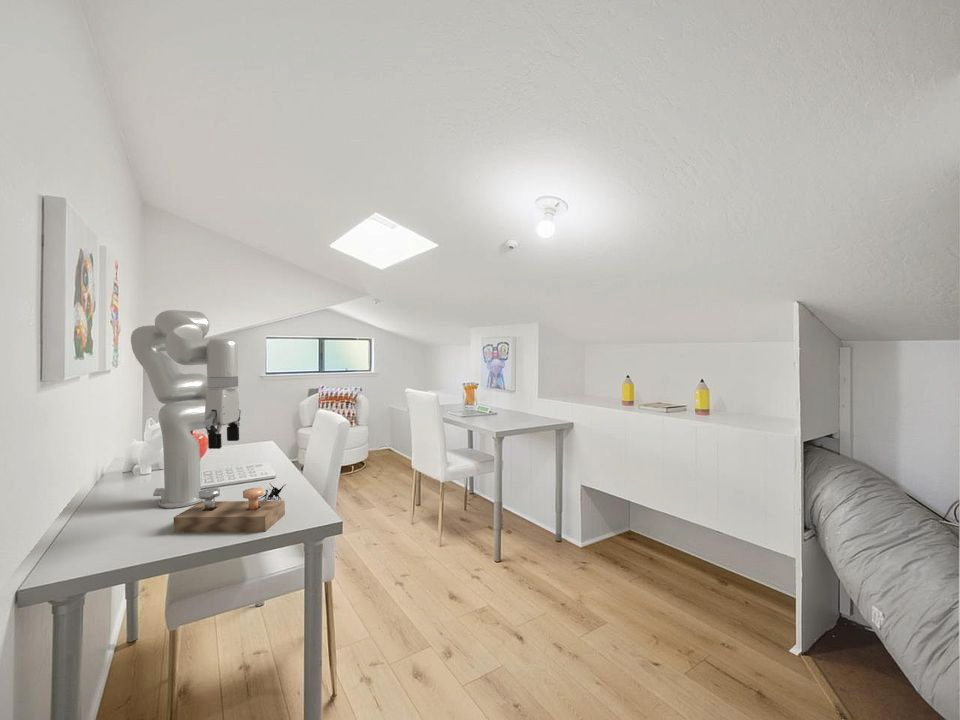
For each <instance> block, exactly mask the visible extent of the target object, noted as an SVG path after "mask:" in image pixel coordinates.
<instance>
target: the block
mask: <svg viewBox="0 0 960 720" xmlns="http://www.w3.org/2000/svg"><path fill="white" fill-rule="evenodd" d="M285 505H286V504H285V500H281V501H280V500H267V501H265V500H264V501H263V500H258V510H250V511H249V504H248V500H239V501H234V500H229V501H228V500H227V501H226V500H225V501H215V509H214V510H213V511H205V501H201V502H199V503H196V504H193V505H192V506H191V507H189V508H188V509H186V510H184V511H182V512H180V513H178V514H177V515H175V516H174V517H173V519H172V520H173V533H239V532H240V533H242V532H243V533H251V532H253V533H255V532H256V533H257V532H258V533H259V532H263V533H265V532H267V531H268V530H269V529H271V527H272V526H274V525H275V524H276V523H277V522H279V520H280V519H282V518H283V517H284V516H285V515H286V512H285V511H286V508H285V507H286V506H285Z"/></svg>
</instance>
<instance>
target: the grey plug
mask: <svg viewBox="0 0 960 720" xmlns="http://www.w3.org/2000/svg"><path fill="white" fill-rule="evenodd" d="M220 495H221V489H220V488H218V487H211V488H210V487H209V488H205V489H201V491H200V492H199V498H200V499H204V500H203V501H204V502H205V511H213V510H214V509H215V499H216V498H218V497H219V496H220Z"/></svg>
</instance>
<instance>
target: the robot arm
mask: <svg viewBox="0 0 960 720" xmlns="http://www.w3.org/2000/svg"><path fill="white" fill-rule="evenodd" d="M209 321H210V320H209V318H208V317H207V316H206V314H205V313H202V312H200V311H196V310H176V309H175V310H173V309H169V310H164V311H163V310H162V312H160V313H158V314H157V315H156V317H155V319H154V324H153V325H142V326H138V327H137V328H135V329H134V330H133V331H132V332H131V335H130V345H131V350H132V353H133V355H134V357H135V359H136V360H137V362H138V363H139V364H140V366H142V368H143V370H144V371H145V372H146V374H147V377H148V381H149V383H150V386H151V388H152V390H153V391H152V392H154V393H153V394H154V395H155V398H156V400H157V401H158V402H159V403H161V404H162V405H163V406H161V407H160V409H159V411H158V415H157V416H158V418H157V419H158V423H159V427H160V430H161V436H162V447H163V450H162V451H163V452H162V453H163V479H164V487H160V488H159V487H157V488H155V489H154V492H153V493H152V494H153V495H152V496H153V497H161V498H160V499H159V501H158V506H159V507H160V508H163V509H164V508H166V509H170V508H171V509H174V508H183V507H188V506H194V505H196V504H198V503H200V502H204V501H205V500H204V499H200V498H199V492H200V491H201V490H202V489H201V485H202V483H201V452H200V451H201V450H200V443H199V441H198V439H197V438H196V437H195V436H194V435H193V434H192V433H191V432H192V431H196V430H203V429H205V430H206V434H207V440H208V441H207V444H208V446H207V447H208V449H210V450H212V449H213V450H214V449H215V450H216V449H217V450H220V449H222V433H221V430H222V427H223V426H226V425H227V427H226V440H227V442H238V441H240V425H241V424H240V420H241V413H242V410H241V409H240V400H239V393H238V389H239V355H238V353H239V352H238V351H239V350H238V343H237V341H236V340H235V339H231V338H217V337H216V338H213V337H211V338H208V337H206V336H207V335H208V333H209V332H210V331H209V330H210V322H209ZM163 352H166V354H167V355H166V354H165V353H163ZM177 364H179V365H182V366H196V365H197V366H201V365H202V366H203V365H206V374H203V373H181V372H180V370H179V368H178V365H177Z"/></svg>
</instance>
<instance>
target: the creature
mask: <svg viewBox="0 0 960 720" xmlns="http://www.w3.org/2000/svg"><path fill="white" fill-rule="evenodd" d="M269 485H270V486H271V488H272V489H270V488H269V489H265V494H263V495H262V496H260V499H262V498H264V499H263V500H262V501H271V498H272V499H273V498H274V497H275V498H277V501H282V498H281V497H280V496H279V495H280V493H281V491H282V490H283V488H284V487H285V486H286V485H287V483H286V484H285V483H284V484H283V485H282V487H280V488H279V489H278V487H275V486H273V485H272V484H271V483H270V482H269ZM268 490H269V491H270V492H269V491H268ZM268 492H269V494H268Z"/></svg>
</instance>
